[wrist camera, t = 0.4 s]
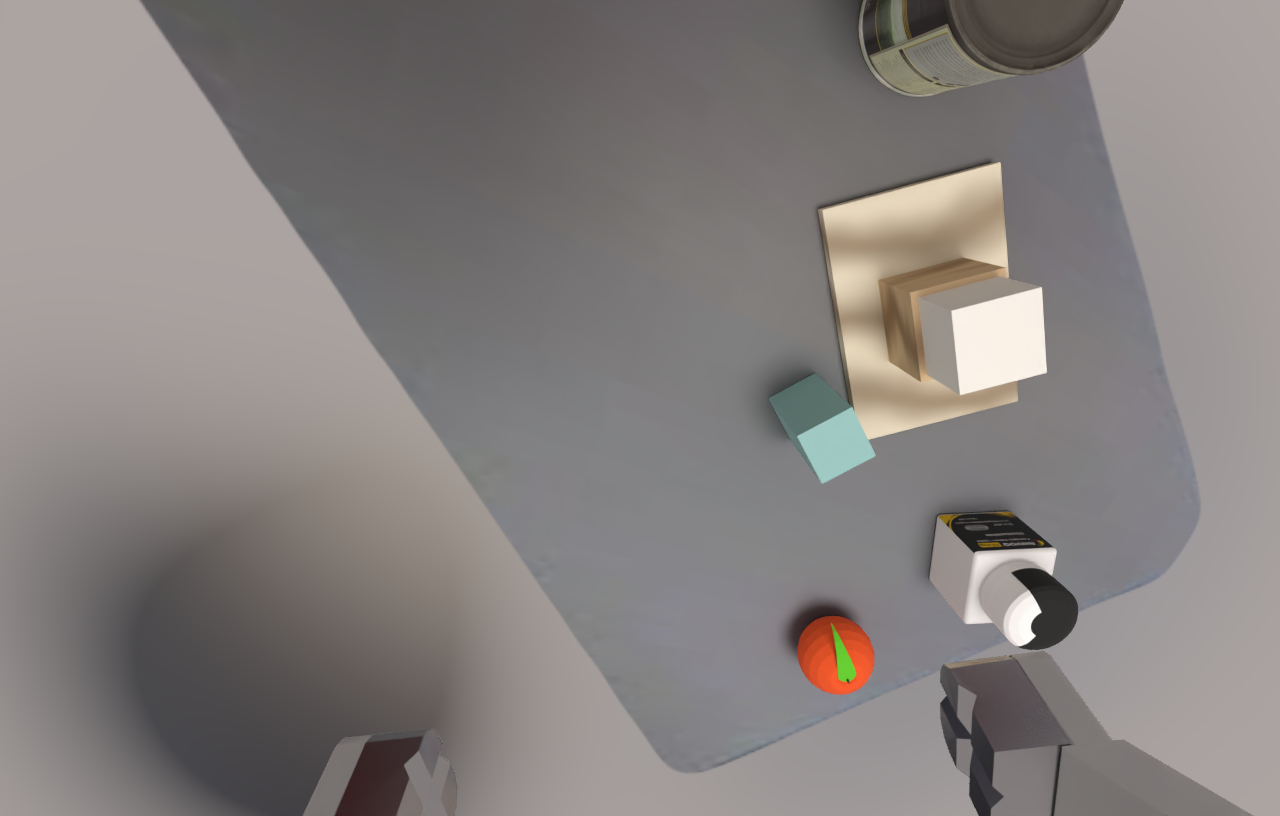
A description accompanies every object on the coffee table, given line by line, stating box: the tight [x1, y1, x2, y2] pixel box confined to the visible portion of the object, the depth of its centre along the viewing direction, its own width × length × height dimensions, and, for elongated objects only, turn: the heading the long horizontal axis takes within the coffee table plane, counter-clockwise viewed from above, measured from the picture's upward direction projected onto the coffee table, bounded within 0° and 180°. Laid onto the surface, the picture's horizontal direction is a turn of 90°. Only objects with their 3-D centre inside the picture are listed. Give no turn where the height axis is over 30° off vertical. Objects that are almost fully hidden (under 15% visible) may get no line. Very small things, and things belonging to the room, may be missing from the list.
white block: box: [918, 276, 1047, 395], centre depth 48 cm, size 6×6×5 cm
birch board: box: [818, 162, 1018, 440], centre depth 57 cm, size 20×14×1 cm
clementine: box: [797, 616, 874, 695], centre depth 64 cm, size 8×7×7 cm
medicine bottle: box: [929, 511, 1078, 650], centre depth 60 cm, size 7×7×12 cm
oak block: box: [878, 258, 1006, 382], centre depth 53 cm, size 7×7×6 cm
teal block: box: [769, 373, 876, 484], centre depth 55 cm, size 4×4×9 cm
